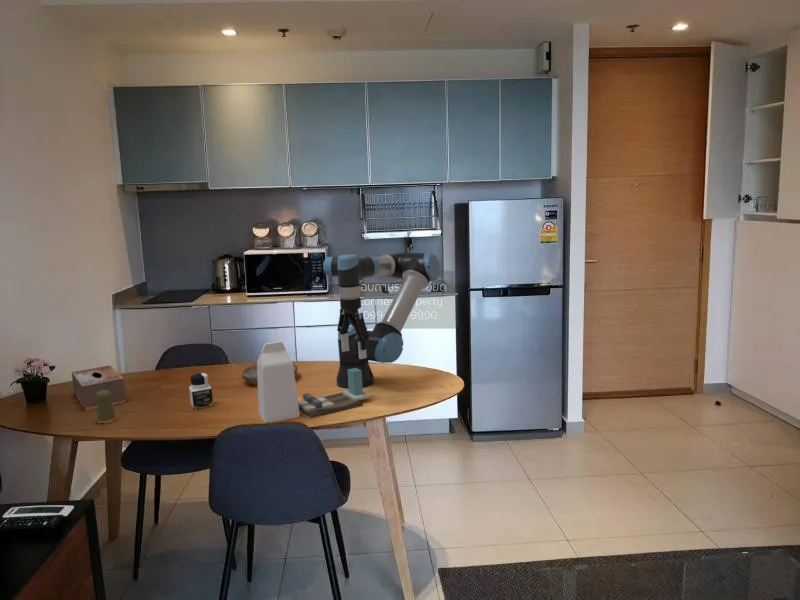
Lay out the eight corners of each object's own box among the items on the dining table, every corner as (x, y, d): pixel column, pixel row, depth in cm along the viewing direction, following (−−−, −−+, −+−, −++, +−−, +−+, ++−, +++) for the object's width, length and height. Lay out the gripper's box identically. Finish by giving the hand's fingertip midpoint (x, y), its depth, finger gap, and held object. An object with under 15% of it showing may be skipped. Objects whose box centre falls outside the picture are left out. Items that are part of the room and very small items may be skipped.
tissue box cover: (74, 395, 248) (71, 372, 247) (113, 388, 256) (110, 365, 255) (85, 412, 228) (82, 386, 226) (126, 403, 236) (123, 378, 234)
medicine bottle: (193, 409, 224) (190, 378, 222) (190, 404, 230) (187, 373, 228) (213, 406, 227) (210, 374, 225) (210, 400, 233) (206, 370, 231)
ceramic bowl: (310, 376, 260) (309, 364, 260) (270, 392, 241) (269, 380, 240) (270, 370, 273) (269, 359, 272) (230, 384, 253) (229, 373, 252)
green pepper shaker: (101, 418, 219) (97, 389, 217) (118, 417, 219) (115, 387, 218) (94, 424, 213) (90, 394, 211) (112, 423, 213) (108, 393, 212)
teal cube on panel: (342, 394, 229) (341, 368, 227) (356, 390, 232) (355, 365, 230) (355, 401, 221) (353, 374, 219) (369, 397, 224) (368, 371, 222)
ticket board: (295, 407, 221) (294, 395, 221) (344, 395, 232) (343, 384, 231) (310, 418, 210) (309, 405, 209) (362, 405, 220) (361, 393, 219)
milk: (265, 423, 207) (258, 348, 203) (258, 412, 217) (252, 341, 213) (299, 416, 212) (294, 343, 207) (292, 407, 222) (286, 337, 218)
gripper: (326, 295, 229) (330, 349, 232) (357, 303, 208) (361, 363, 212) (343, 292, 233) (347, 346, 236) (376, 300, 212) (379, 359, 215)
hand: (354, 354), depth 224 cm, fingers open, 13 cm apart
